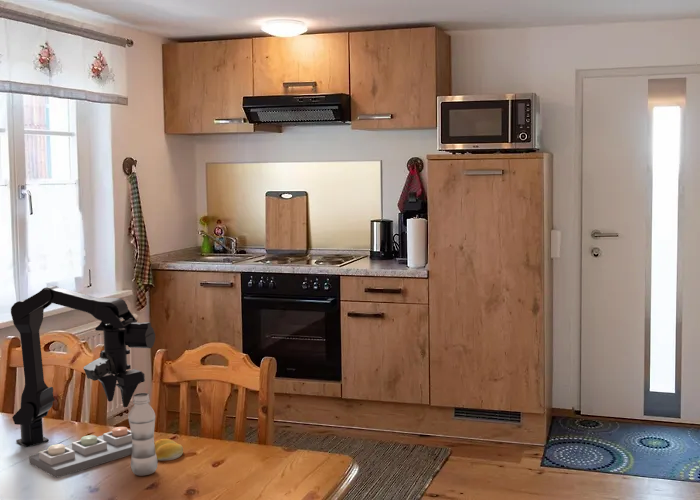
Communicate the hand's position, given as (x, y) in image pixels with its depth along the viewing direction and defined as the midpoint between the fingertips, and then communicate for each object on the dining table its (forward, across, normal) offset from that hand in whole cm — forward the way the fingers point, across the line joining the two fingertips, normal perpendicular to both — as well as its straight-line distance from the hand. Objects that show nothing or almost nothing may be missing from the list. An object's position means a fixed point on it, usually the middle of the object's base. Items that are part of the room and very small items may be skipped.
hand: (117, 404), depth 222 cm
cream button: (+9, 0, -18) cm, 20 cm away
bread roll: (+12, +14, +5) cm, 19 cm away
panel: (+12, 0, -9) cm, 15 cm away
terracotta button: (+9, 0, 0) cm, 9 cm away
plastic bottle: (+12, +21, -6) cm, 25 cm away
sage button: (+9, 0, -9) cm, 12 cm away
